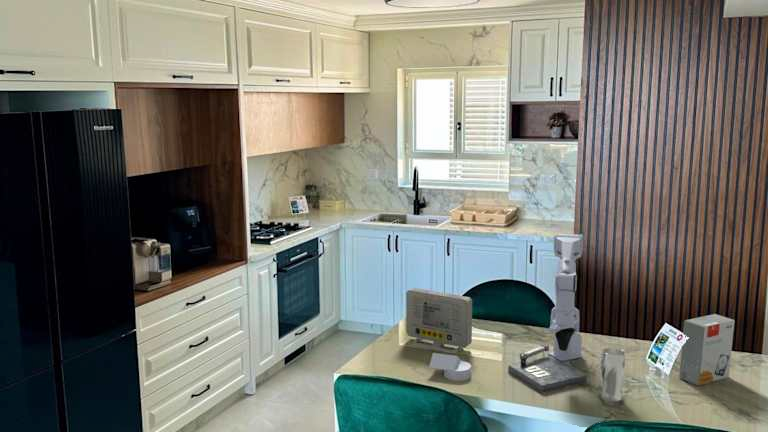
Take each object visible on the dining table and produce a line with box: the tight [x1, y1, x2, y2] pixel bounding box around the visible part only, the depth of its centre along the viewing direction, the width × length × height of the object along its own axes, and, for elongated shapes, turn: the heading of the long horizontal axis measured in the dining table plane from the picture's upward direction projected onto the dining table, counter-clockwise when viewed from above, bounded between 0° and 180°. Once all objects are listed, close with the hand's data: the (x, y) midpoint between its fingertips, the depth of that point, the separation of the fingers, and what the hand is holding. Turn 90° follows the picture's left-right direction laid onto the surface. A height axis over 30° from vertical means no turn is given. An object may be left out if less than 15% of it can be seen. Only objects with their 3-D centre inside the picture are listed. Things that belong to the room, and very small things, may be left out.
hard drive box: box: [678, 313, 735, 386], centre depth 218 cm, size 16×8×20 cm, turn 117°
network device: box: [405, 287, 473, 354], centre depth 249 cm, size 26×9×20 cm, turn 58°
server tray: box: [507, 355, 588, 394], centre depth 221 cm, size 18×18×4 cm
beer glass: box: [600, 347, 626, 403], centre depth 205 cm, size 7×7×15 cm
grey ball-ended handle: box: [519, 343, 550, 361], centre depth 229 cm, size 14×2×2 cm, turn 130°
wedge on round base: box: [429, 352, 472, 382], centre depth 224 cm, size 9×7×13 cm
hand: (563, 349), depth 217 cm, fingers closed
